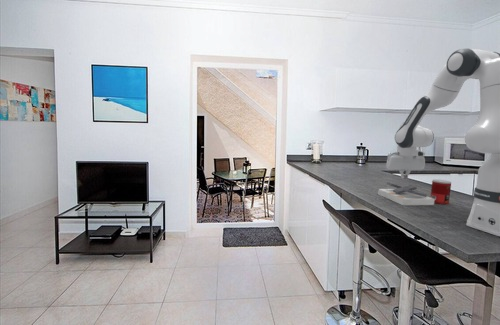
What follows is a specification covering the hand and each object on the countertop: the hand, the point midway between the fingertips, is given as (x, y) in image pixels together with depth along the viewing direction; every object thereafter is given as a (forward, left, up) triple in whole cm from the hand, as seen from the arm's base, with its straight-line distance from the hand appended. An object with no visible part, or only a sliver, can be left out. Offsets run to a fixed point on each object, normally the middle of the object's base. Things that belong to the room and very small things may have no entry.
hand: (404, 178), depth 155 cm
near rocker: (-13, +4, -6) cm, 15 cm away
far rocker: (+1, +4, -6) cm, 7 cm away
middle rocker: (-6, +4, -6) cm, 9 cm away
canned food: (-12, -11, -10) cm, 20 cm away
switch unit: (-6, +4, -10) cm, 12 cm away
